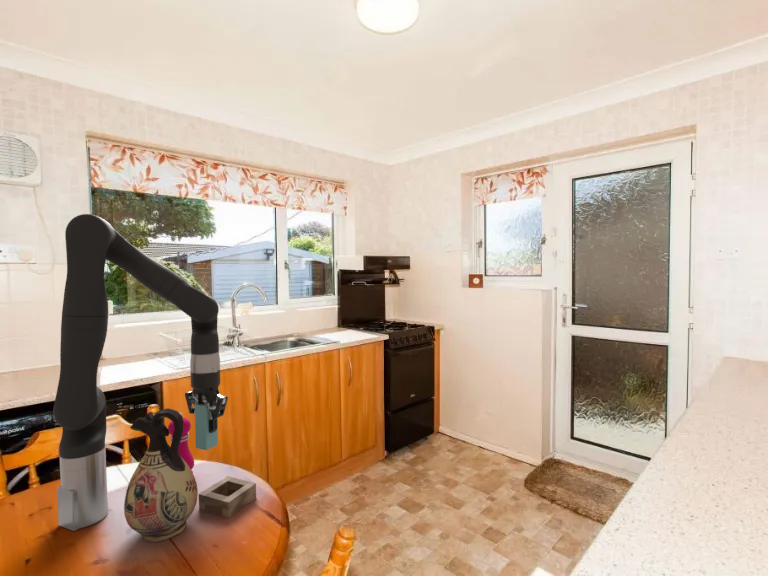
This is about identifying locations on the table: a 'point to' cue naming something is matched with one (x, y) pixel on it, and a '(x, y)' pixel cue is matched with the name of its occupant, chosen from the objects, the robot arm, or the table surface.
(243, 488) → the socket block
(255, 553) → the table surface
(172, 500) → the ceramic jug
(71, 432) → the robot arm
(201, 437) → the peg
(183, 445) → the pepper mill
